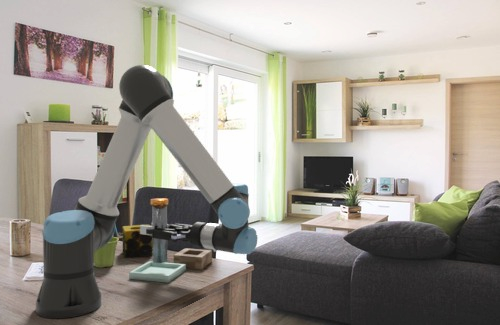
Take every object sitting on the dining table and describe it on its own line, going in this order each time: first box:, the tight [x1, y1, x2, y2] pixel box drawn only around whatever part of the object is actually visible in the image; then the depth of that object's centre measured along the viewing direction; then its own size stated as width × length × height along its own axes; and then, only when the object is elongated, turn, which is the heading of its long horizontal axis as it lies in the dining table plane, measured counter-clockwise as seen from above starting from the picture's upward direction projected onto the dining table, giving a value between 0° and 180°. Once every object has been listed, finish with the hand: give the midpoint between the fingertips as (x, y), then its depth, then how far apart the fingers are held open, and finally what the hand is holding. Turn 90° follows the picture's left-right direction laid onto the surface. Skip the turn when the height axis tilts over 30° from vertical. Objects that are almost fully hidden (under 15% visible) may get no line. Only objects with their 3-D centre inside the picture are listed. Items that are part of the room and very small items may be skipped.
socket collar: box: [173, 247, 213, 270], centre depth 148 cm, size 10×10×4 cm
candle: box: [122, 224, 153, 259], centre depth 161 cm, size 10×10×10 cm
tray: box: [128, 260, 187, 283], centre depth 136 cm, size 13×13×2 cm
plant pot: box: [94, 236, 120, 268], centre depth 145 cm, size 9×9×9 cm
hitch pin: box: [150, 197, 169, 263], centre depth 135 cm, size 5×5×20 cm
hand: (146, 228), depth 138 cm, fingers closed on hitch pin, 4 cm apart
